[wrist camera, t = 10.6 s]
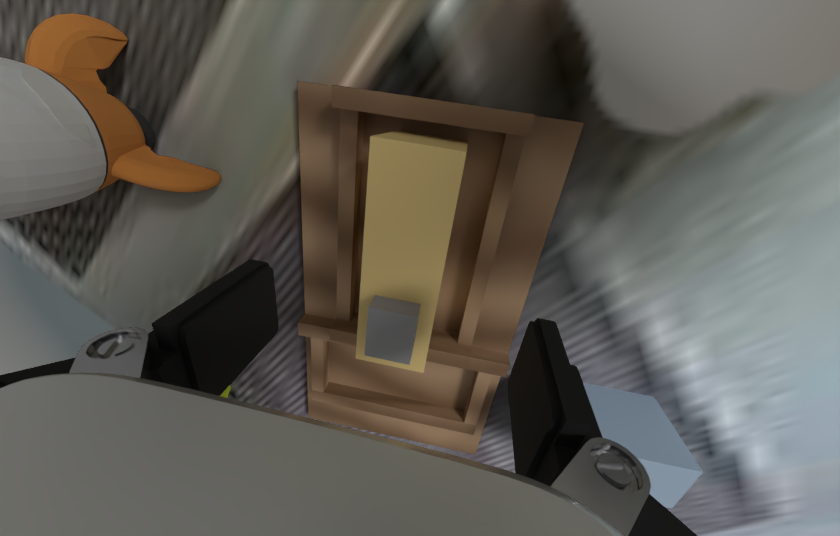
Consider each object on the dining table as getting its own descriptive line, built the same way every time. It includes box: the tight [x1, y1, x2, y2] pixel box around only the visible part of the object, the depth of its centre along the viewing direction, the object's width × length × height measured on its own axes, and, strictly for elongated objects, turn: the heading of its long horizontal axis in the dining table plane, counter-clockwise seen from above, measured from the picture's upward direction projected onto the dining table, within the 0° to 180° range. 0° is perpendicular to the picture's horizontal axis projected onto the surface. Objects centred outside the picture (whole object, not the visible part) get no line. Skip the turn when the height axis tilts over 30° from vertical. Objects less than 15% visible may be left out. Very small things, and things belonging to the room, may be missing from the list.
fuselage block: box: [355, 130, 468, 373], centre depth 18 cm, size 12×4×7 cm, turn 172°
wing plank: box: [583, 383, 703, 508], centre depth 24 cm, size 4×10×6 cm, turn 82°
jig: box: [297, 81, 584, 454], centre depth 23 cm, size 28×16×3 cm, turn 172°
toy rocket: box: [0, 13, 221, 220], centre depth 15 cm, size 10×11×15 cm
